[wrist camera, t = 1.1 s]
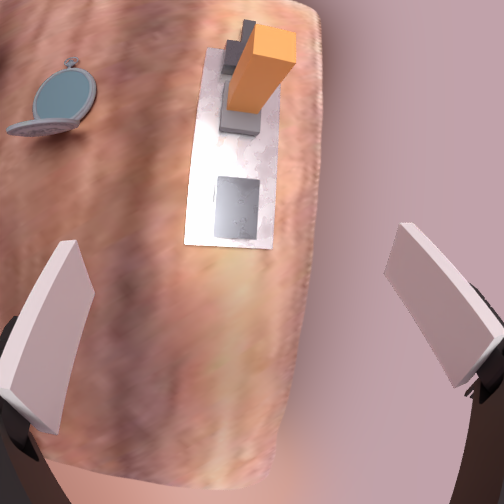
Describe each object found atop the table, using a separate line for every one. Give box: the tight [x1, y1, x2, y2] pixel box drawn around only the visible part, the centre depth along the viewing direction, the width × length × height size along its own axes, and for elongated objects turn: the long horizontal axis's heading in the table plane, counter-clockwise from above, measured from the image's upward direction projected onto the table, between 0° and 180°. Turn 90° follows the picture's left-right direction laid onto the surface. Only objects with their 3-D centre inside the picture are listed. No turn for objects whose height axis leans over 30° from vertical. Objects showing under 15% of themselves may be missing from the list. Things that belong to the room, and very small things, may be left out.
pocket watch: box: [6, 57, 96, 137], centre depth 27 cm, size 10×11×15 cm
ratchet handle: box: [219, 19, 296, 136], centre depth 30 cm, size 20×5×14 cm, turn 176°
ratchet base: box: [184, 40, 281, 249], centre depth 36 cm, size 28×11×4 cm, turn 176°
